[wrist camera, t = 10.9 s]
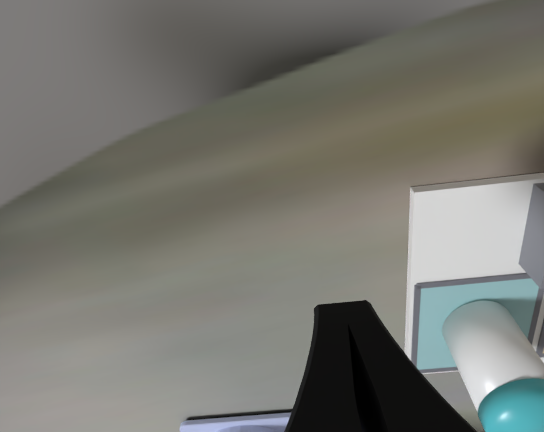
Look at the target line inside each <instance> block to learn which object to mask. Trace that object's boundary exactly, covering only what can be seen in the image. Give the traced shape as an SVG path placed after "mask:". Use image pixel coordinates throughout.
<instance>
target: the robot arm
mask: <svg viewBox="0 0 544 432" xmlns="http://www.w3.org/2000/svg"><path fill="white" fill-rule="evenodd" d="M180 432H477V431H476V430H475V429H474V428H473V427H472V426H471V425H470V424H469V423H468V422H467V421H466V420H465V419H464V418H463V417H461V416H460V415H459V414H458V413H457V412H456V411H455V409H454V408H453V407H452V406H451V405H450V404H449V403H448V402H447V401H446V400H445V399H444V398H443V397H442V396H441V395H440V394H439V393H438V392H437V390H436V389H435V388H434V387H433V386H432V385H431V384H430V383H429V382H428V380H427V379H426V378H425V377H424V376H423V375H422V373H421V372H420V371H419V370H418V369H417V368H416V366H415V365H414V364H413V363H412V361H411V360H410V359H409V358H408V356H407V355H406V354H405V353H404V352H403V350H402V349H401V348H400V346H399V345H398V344H397V342H396V341H395V340H394V338H393V337H392V336H391V334H390V333H389V332H388V330H387V329H386V327H385V326H384V324H383V323H382V321H381V320H380V318H379V317H378V315H377V314H376V312H375V310H374V309H373V307H372V305H371V304H370V303H369V302H368V301H366V300H364V301H353V302H342V303H332V304H321V305H317V306H316V307H315V308H314V329H313V336H312V341H311V347H310V351H309V355H308V360H307V364H306V368H305V372H304V376H303V379H302V382H301V385H300V388H299V392H298V395H297V398H296V401H295V404H294V407H293V410H292V412H290V413H277V414H264V415H251V416H238V417H226V418H213V419H200V420H187V421H183V422H182V423H181V425H180Z"/></svg>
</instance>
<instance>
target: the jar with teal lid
mask: <svg viewBox="0 0 544 432" xmlns="http://www.w3.org/2000/svg"><path fill="white" fill-rule="evenodd" d="M442 335H443V337H444V340H445V342H446V344H447V346H448V348H449V350H450V353H451V355H452V357H453V359H454V361H455V364H456V366H457V368H458V370H459V372H460V375H461V377H462V379H463V381H464V383H465V386H466V388H467V390H468V392H469V394H470V396H471V399H472V401H473V403H474V405H475V407H476V410H477V412H478V417H479V419H480V421H481V423H482V426H483V428H484V430H485V432H544V363H543V362H542V360H541V359H540V357H539V356H538V354H537V353H536V351H535V350H534V348H533V347H532V345H531V344H530V342H529V341H528V339H527V338H526V336H525V335H524V333H523V332H522V330H521V329H520V327H519V326H518V324H517V323H516V322H515V320H514V319H513V317H512V316H511V314H510V313H509V311H508V310H507V309H506V307H504V306H503V305H501V304H499V303H497V302H493V301H475V302H471V303H468V304H465V305H463V306H461V307H459V308H457V309H456V310H454V311H453V312H452V313H451V314H450V315H449V316H448V317H447V318H446V320H445V321H444V323H443V326H442Z"/></svg>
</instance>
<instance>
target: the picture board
mask: <svg viewBox="0 0 544 432" xmlns="http://www.w3.org/2000/svg"><path fill="white" fill-rule="evenodd" d="M475 301H493V302H497V303H499V304H501V305H503V306H504V307H506V309H507V310H508V311H509V313H510V314H511V316H512V317H513V319H514V320H515V322H516V323H517V324H518V326H519V327H520V329H521V330H522V332H523V333H524V335H525V336H526V338H527V339H528V341H529V342H530V344H531V345H532V347H533V348H534V350H535V351H536V353H537V354H538V356H539V357H540V359H541V360H542V362H543V363H544V173H535V174H526V175H517V176H508V177H498V178H489V179H480V180H471V181H462V182H453V183H444V184H434V185H425V186H416V187H410V213H409V241H408V270H407V299H406V327H405V354H406V355H407V356H408V358H409V359H410V360H411V361H412V363H413V364H414V365H415V366H416V368H417V369H418V370H419V371H420V372H421V373H422V374H429V373H441V372H453V371H459V370H458V368H457V366H456V364H455V361H454V359H453V357H452V355H451V353H450V350H449V348H448V346H447V344H446V342H445V340H444V337H443V335H442V326H443V323H444V321H445V320H446V318H447V317H448V316H449V315H450V314H451V313H452V312H453V311H454V310H456V309H457V308H459V307H461V306H463V305H465V304H468V303H471V302H475Z"/></svg>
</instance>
